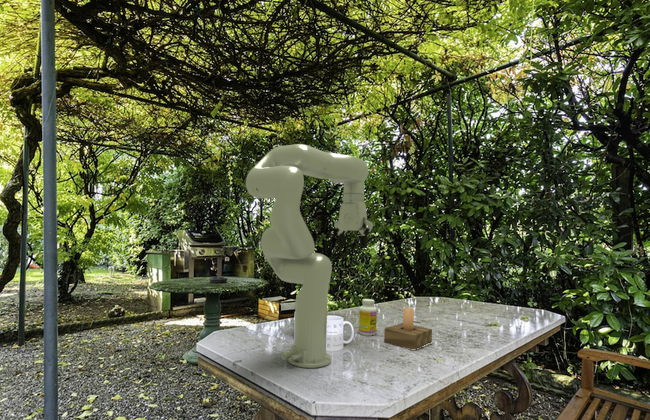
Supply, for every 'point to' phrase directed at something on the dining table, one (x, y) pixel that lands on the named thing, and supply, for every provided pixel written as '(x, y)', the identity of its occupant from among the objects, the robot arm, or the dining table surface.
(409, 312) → the peg
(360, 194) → the robot arm
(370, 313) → the supplement bottle
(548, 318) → the dining table surface
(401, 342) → the socket block
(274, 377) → the dining table surface
